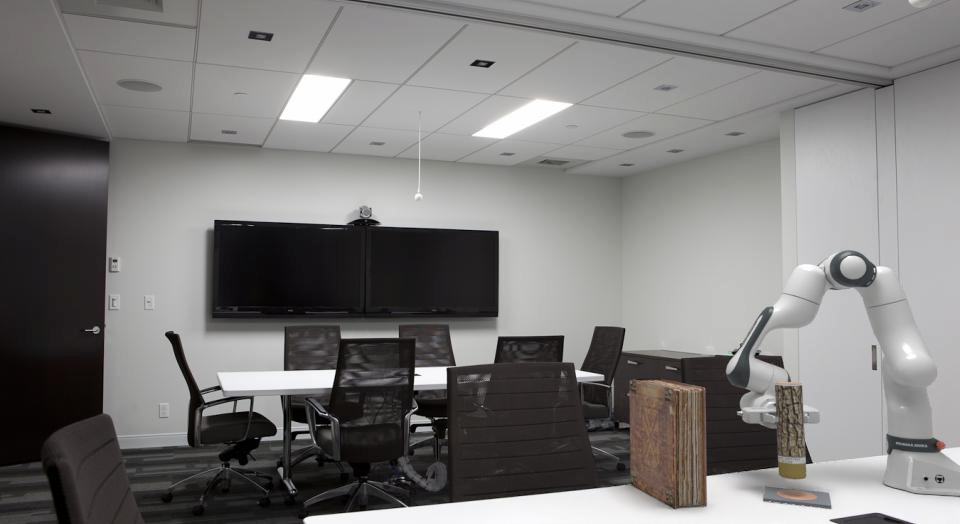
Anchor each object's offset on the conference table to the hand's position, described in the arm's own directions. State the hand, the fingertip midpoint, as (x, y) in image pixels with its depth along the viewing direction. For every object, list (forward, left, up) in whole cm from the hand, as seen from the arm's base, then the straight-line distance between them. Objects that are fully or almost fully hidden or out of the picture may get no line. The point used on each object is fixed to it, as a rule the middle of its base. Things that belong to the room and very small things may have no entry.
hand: (791, 419), depth 188 cm
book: (+31, +12, -21) cm, 39 cm away
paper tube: (0, 0, -15) cm, 16 cm away
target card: (-1, 0, -21) cm, 21 cm away
